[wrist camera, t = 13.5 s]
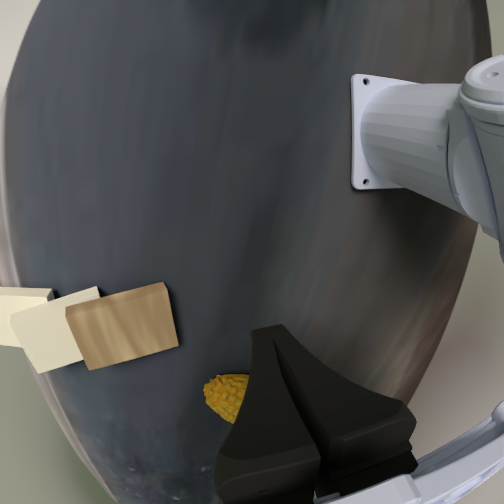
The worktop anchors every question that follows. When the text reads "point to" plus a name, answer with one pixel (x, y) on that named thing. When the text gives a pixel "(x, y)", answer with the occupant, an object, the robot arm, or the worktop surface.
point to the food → (226, 394)
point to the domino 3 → (123, 325)
